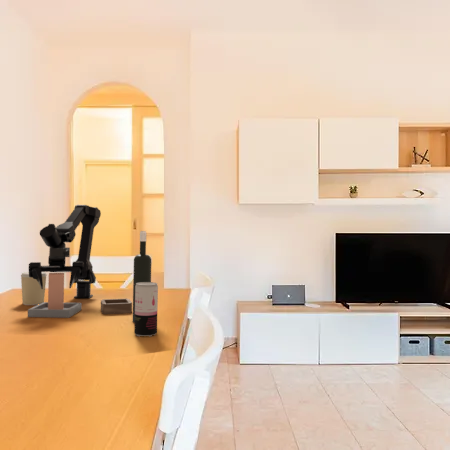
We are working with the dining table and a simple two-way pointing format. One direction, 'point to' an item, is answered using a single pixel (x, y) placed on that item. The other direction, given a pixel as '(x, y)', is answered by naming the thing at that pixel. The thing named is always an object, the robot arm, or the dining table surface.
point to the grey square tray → (54, 310)
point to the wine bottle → (141, 267)
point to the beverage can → (146, 308)
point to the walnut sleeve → (116, 306)
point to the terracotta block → (56, 291)
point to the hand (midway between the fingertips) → (56, 288)
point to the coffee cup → (32, 289)
